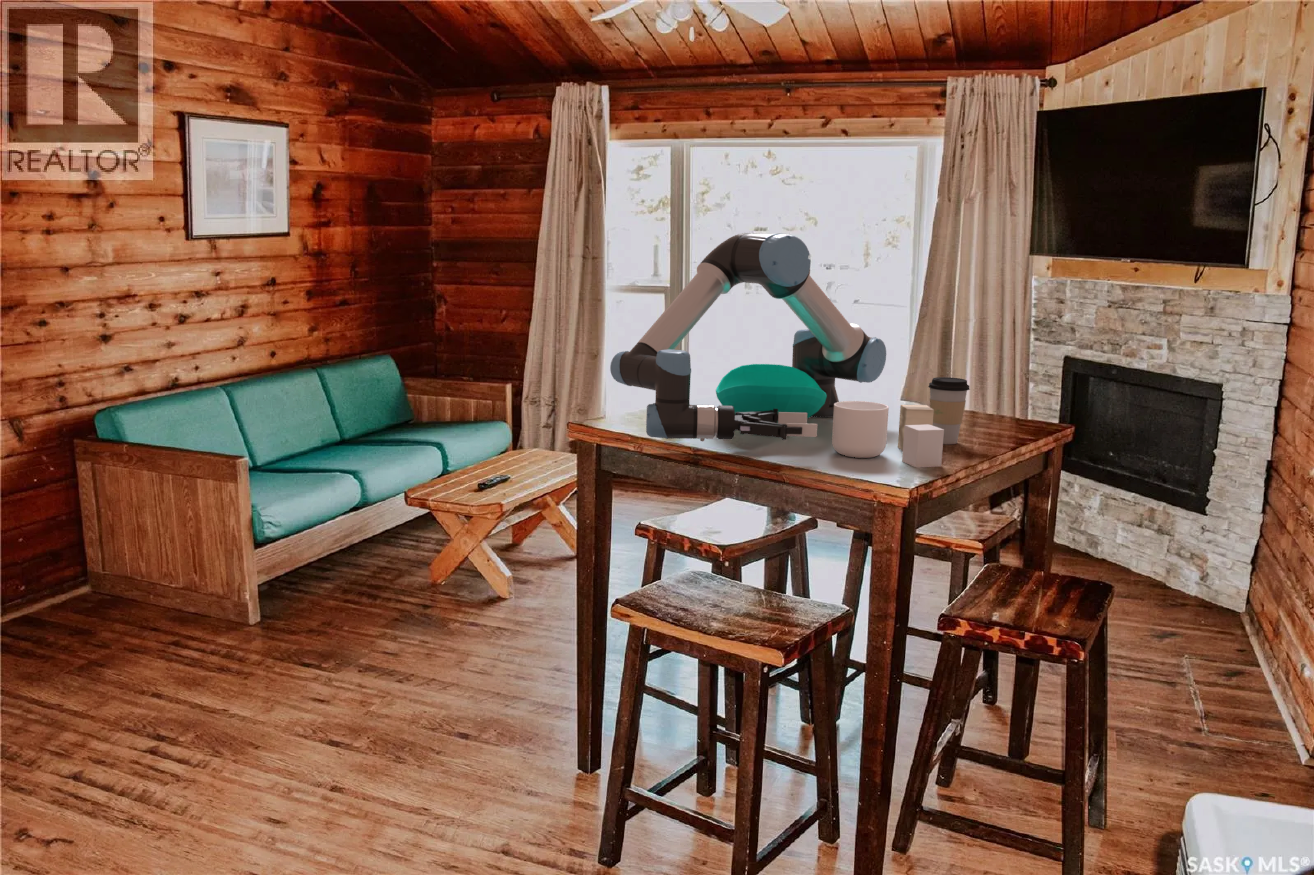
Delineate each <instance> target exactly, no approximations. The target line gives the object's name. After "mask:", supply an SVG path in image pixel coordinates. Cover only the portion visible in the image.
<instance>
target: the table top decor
mask: <svg viewBox="0 0 1314 875" xmlns="http://www.w3.org/2000/svg"><path fill="white" fill-rule="evenodd" d="M715 394H716V398H717V400H718V401H719V403H720V404H721V405H722V406H733V407H734V410H735V412H755V411H770V410H773V409H778V412H798V413H807V419H809V418H812V417H811V416H812V415H813V414H815V413H816V412H817V411H819V409H820V408H821V407H822V406H823V405H824V403H825V400H826V397H827V395H826V393H825V392H824V391H823V390H822V389H821V388H820V387H819V385H818V384H817V383H816V381H815V380H814V379H813V378H811V377H810V376H809V375H808V374H806V373H805V372H803V371H801V370H799V369H796V368H794V367H792V366H791V365H789V366H788V365H783V364H775V363H773V364H772V363H771V364H770V363H752V364H744V365H740V366H738V367H735V368H733V369H731V370H730V371H728V372H727V373H726V374H724V376H723V377H722V378H721V380H720V381H719V383H718V385H717V387H716V389H715ZM777 423H778V421H777Z"/></svg>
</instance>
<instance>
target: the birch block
mask: <svg viewBox="0 0 1314 875" xmlns="http://www.w3.org/2000/svg"><path fill="white" fill-rule="evenodd" d="M899 408H900V410H899V419H898V420H899V422H898V434H897V435H898V436H897V448H898V449H899V450H900V451H902V452H903V441H904V426H905V425H926V424H930V425H932V426H933V414H934V409H932V408H930V405H927V404H900V407H899Z"/></svg>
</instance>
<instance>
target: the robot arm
mask: <svg viewBox="0 0 1314 875" xmlns="http://www.w3.org/2000/svg"><path fill="white" fill-rule="evenodd" d="M810 255H811V254H810V251H809V248H808V247H807V245H806V243H805V242H804V241H803V240H802V239H800V238H799V237H798V236H796V235H792V234H787V233H782V232H781V233H754V232H753V233H750V232H742V233H738V234H735V235H733V236H731V237H729V238H727V239H725V240H724V241H722V242H721V243H720V244H718V245H717V246H716V247H715V248H714V249H713V250H711V251H710V253H708V254H707V255H706V256H705V257H704V258H703V259H702V260H701V262H700V263H699V264H698V266H696V274H695V275H694V276H693V278H691V279H690V281H689V282H688V283H687V284H686V286H685V287H684V288H683V289H682V290H681V292H679V294H678V295H677V296H676V297H675V299H674V300H673V301H672V302H671V303H670V304H669V306H668V307H667V308H666V309H665V310H664V311H663V312H662V314H661V315H660V316H659V317H657V320H656V321H654V323H653V324H652V325H651V327H650V328H649V329H648V330H647V331H646V332H645V333H644V335H642V337H641V338H640V339H639V340H638V342H637V343H636V344H635V345H634V346H633V347H632V349H631V350H630V351H628V350H625V351H624V350H623V351H619V352H617V353H616V354H615V355H614V356H613V358H612V360H611V362H610V369H609V371H610V373H611V376H612V379H613V380H614V381H615V382H617V383H619V384H622V385H625V386H627V387H636V388H642V389H647V390H652V391H655V402H653V403H648V404H647V405H646V419H645V420H646V424H645V425H646V428H645V429H646V430H645V431H646V434H647V436H648V437H650V438H657V439H658V438H660V439H666V440H667V439H671V440H672V439H679V440H680V439H682V440H683V439H686V440H687V439H690V440H691V439H694V440H695V439H696V440H697V439H698V440H700V442H705V439H707V440H713V439H714V438H715V437H716V439H717V440H728V441H729V440H733V439H734V436H735V431H739V433H740V435H750V436H751V435H752V436H761V437H762V436H763V437H770V438H777V439H779V438H780V439H782V440H783V441H786V440H787V437H806V438H807V437H811V438H812V437H813V438H815V437H818V423H808V418H807V413H798V412H778V409H773V410H770V411H755V412H735V410H734V407H733V406H722V404H721V405H719V404H718V406H717V407H716V406H715V405H714V404H690V398H691V397H690V395H691V394H690V392H691V391H690V390H691V374H692V368H691V355H690V353H689V352H688V351H686V350H683V349H676V348H677V347H678V346H679V344H680V343H681V342H682V341H683V340H684V339H685V338H686V336H687V335H688V334H689V333H690V332H691V330H692V329H693V328H694V327H695V326H696V325H697V324H698V322H699V321H700V320H701V318H702V317H703V316H704V315H705V314H706V312H707V311H708V310H709V309H710V308H711V307H712V305H714V303H715V302H716V301H717V300H718V298H719V297H720V296H721V295H725V294H728V293H729V292H730V291H731V289H733V287H735V286H737V285H740V284H742V283H746V284H756V285H757V284H758V285H760V286H761V287H762V288H763V289H764V290H765V291H766V292H767V293H768V294H769V295H770V297H772V298H774V299H776V300H782V301H783V303H785V304H786V305H787V306H788V307H789V309H790V310H791V311H792V312H793V313H794V315H795V316H797V318H798V319H799V320H800V321H801V322H802V324H804V326H805V327H806V328H807V329H799V330H796V331H795V333H794V336H793V344H792V361H791V362H792V364H791V367H794V368H796V369H799V370H801V371H803V372H805V373H806V374H808V375H809V376H810V377H811V378H813V379H814V380H815V381H816V383H817V384H818V385H819V387H820V388H821V389H822V390H823V391H824V392H825V393H826V395H827V397H826V400H825V403H824V405H823V406H822V407H821V408H820V409H819V411H817V412H816V413H815V414H813V415H812V416H811V417H810V418H833V414H834V403H837V402H840V400H839V397H838V392H837V390H836V379H840V380H847V381H854V382H858V383H872V382H874V381H876V380H877V379H879V377H880V376H881V374H882V372H883V370H884V369H885V366H886V360H887V347H886V345H885V342H884V341H883V340H882V339H880V338H877V337H876V336H873V337H870V336H869V335H867V333H865V331H864V330H863V329H862V327H861V326H859V325H858V324H856V323H851V322H849V321H848V320H847V319H846V318H845V317H844V315H843V314H842V313H841V311H839V308H837V306H836V305H835V304H834V303H833V301H831V300H830V298H829V297H828V296H827V295H826V293H825V292H824V291H823V290H822V289H821V287H820V285H818V283H817V282H816V281H815V279H813V278H812V276H811V263H812V261H811V258H809V256H810ZM777 421H778V423H777Z"/></svg>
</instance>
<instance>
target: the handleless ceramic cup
mask: <svg viewBox="0 0 1314 875" xmlns="http://www.w3.org/2000/svg"><path fill="white" fill-rule="evenodd" d="M889 408H890V407H889V405H886V404H884V403H881V402H874V401H873V402H872V401H862V400H861V401H860V400H846V401H839V402H837V403H834V414H833V417H832V419H833V420H832V434H831V435H832V436H831V443H832V447H833V449H834V450H835V452H837V453H838V454H840V455H842V456H844V455H845V457H848V458H854V457H855V459H856V458H858V459H868V458H874V457H878V456H879V455H881V454H882V453H883V452H884V451H885V449H886V447H887V437H888V424H889V421H888V420H889Z"/></svg>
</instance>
